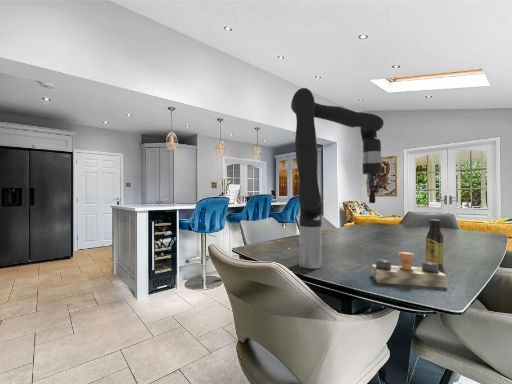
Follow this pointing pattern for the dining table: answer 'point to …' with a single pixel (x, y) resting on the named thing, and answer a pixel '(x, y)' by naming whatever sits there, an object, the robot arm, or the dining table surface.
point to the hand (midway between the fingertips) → (372, 203)
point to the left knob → (383, 264)
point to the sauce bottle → (434, 243)
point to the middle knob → (406, 260)
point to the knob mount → (409, 276)
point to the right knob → (430, 267)
